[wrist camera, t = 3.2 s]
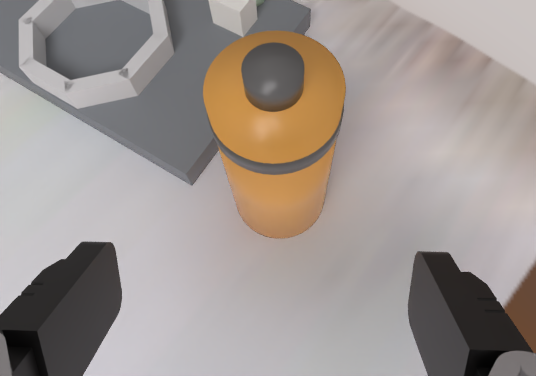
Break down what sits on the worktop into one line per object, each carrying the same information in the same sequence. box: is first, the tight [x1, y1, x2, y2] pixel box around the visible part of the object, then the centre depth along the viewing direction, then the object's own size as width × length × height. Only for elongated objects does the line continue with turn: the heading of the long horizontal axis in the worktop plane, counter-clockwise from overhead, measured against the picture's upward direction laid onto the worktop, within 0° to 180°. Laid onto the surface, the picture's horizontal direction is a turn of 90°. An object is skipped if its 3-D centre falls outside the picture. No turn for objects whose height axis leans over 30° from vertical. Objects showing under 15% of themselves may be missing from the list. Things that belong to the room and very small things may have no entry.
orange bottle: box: [203, 31, 346, 238], centre depth 19 cm, size 5×5×11 cm
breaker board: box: [0, 0, 311, 185], centre depth 27 cm, size 19×13×4 cm
